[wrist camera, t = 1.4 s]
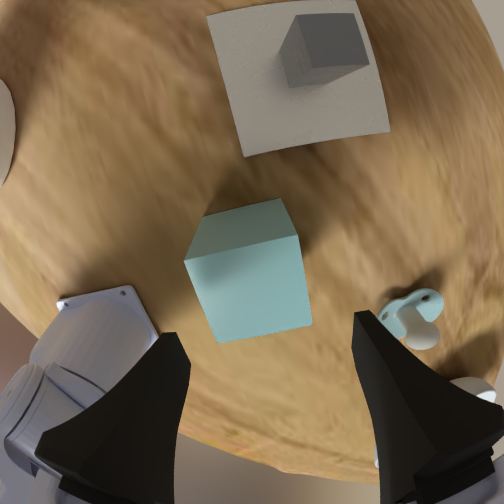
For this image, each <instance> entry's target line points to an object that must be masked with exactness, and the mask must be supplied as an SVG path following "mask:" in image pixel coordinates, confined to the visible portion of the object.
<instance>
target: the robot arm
mask: <svg viewBox="0 0 504 504" xmlns="http://www.w3.org/2000/svg"><path fill="white" fill-rule="evenodd" d="M122 291H124V292H125V293H126V294H125V293H123V292H122ZM67 303H68V304H67ZM56 305H57V307H58V309H59V310H60V312H59V314H58V315H57V316H56V317H55V319H54V320H53V321H52V323H51V324H50V325H49V327H48V328H47V329H46V331H45V332H44V333H43V335H42V336H41V338H40V339H39V341H38V342H37V343H36V345H35V346H34V348H33V350H32V352H31V355H30V361H29V364H25V365H24V366H22V367H21V368H20V369H19V370H18V372H17V373H16V374H15V375H14V377H13V378H12V379H11V380H10V382H9V383H8V385H7V386H6V388H5V389H4V391H3V392H2V394H1V396H0V504H174V458H175V447H176V438H177V432H178V427H179V423H180V418H181V414H182V410H183V406H184V403H185V399H186V394H187V390H188V386H189V379H190V370H191V363H190V361H189V359H188V356H187V354H186V352H185V350H184V348H183V346H182V344H181V342H180V340H179V338H178V335H177V333H176V332H167V333H162V334H161V335H160V337H159V335H158V333H157V332H156V330H155V328H154V326H153V324H152V323H151V321H150V319H149V317H148V315H147V313H146V311H145V309H144V307H143V305H142V303H141V301H140V299H139V298H138V295H137V293H136V291H135V289H134V288H133V287H132V286H130V285H125V286H121V287H116V288H111V289H107V290H102V291H97V292H93V293H88V294H84V295H79V296H74V297H70V298H65V299H60V300H58V301H57V303H56ZM351 348H352V353H353V358H354V362H355V367H356V371H357V374H358V377H359V380H360V383H361V386H362V389H363V392H364V395H365V398H366V401H367V405H368V408H369V411H370V414H371V418H372V423H373V428H374V434H375V440H376V447H377V455H378V464H379V476H380V504H504V454H503V455H502V456H500V457H498V458H497V459H496V460H494V461H493V462H492V459H491V456H492V455H493V454H494V451H493V449H492V446H493V445H494V444H495V443H496V442H497V441H498V440H499V439H501V438H502V436H504V410H503V408H502V406H500V405H498V404H495V403H492V402H490V401H487V400H484V399H482V398H480V397H477V396H475V395H473V394H471V393H469V392H467V391H465V390H463V389H461V388H460V387H458V386H456V385H455V384H453V383H451V382H450V381H448V380H446V379H445V378H443V377H442V376H440V375H439V374H437V373H436V372H435V371H433V370H432V369H431V368H429V367H428V366H427V365H425V364H424V363H423V362H422V361H420V360H419V359H418V358H417V357H416V356H415V355H414V354H412V353H411V352H410V351H409V350H408V349H407V348H406V347H405V346H404V345H403V344H402V343H401V342H400V341H399V340H398V339H396V338H395V337H394V336H393V335H392V334H391V333H390V331H389V330H388V329H387V328H386V327H385V326H384V325H383V324H382V323H381V322H380V321H379V320H378V319H377V318H376V317H375V315H374V314H373V313H372V312H371V311H370V310H366V311H360V312H354V324H353V336H352V347H351Z"/></svg>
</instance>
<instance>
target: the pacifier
mask: <svg viewBox="0 0 504 504" xmlns="http://www.w3.org/2000/svg"><path fill="white" fill-rule="evenodd" d="M426 295H429V298H428V299H427V300H422V297H423V296H426ZM443 307H444V300H443V298H442V296H441V295H440V294H439V293H438V292H437V291H435V290H433V289H430V288H422V289H418V290H416V291H413V292H412V293H410V294H409V295H408V296H405V297H402V298H397V299H393V300H391V301H389V302H388V303H386V304H385V305H384V306H383V307H382V309H381V310H380V312H379V313H378V315H377V317H376V318H377V319H378V320H379V321H380V322H381V323H382V324H383V325H384V326H385V327H386V328H387V329H388V330H389V331H390V333H391V334H392V335H393V336H394V337H395V338H396V339H400V338H402V337H405V336H406V337H405V341H406V344H407V345H408V346H409V347H411V348H413V349H416V350H425V349H429V348H431V347H433V346H434V345H436V344H437V343H438V341H439V339H440V333H439V330H438V328H437V327H436V326H435V325H434V324H433V323H431V322H432V321H433V320H435V319H436V318H437V317H438V315H439V314H440V313H441V311H442V309H443ZM383 315H384V317H383V318H382V316H383Z"/></svg>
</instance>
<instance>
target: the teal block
mask: <svg viewBox="0 0 504 504" xmlns="http://www.w3.org/2000/svg"><path fill="white" fill-rule="evenodd" d="M184 263H185V266H186V268H187V271H188V274H189V276H190V279H191V281H192V284H193V286H194V289H195V291H196V294H197V296H198V299H199V301H200V304H201V306H202V308H203V311H204V313H205V316H206V318H207V320H208V323H209V325H210V327H211V330H212V332H213V334H214V336H215V339H216V341H217V343H222V342H228V341H234V340H240V339H246V338H251V337H256V336H262V335H267V334H272V333H276V332H281V331H286V330H291V329H295V328H300V327H304V326H308V325H313V324H312V317H311V310H310V304H309V297H308V291H307V285H306V279H305V273H304V267H303V261H302V255H301V250H300V244H299V239H298V234H297V232H296V230H295V228H294V225H293V223H292V221H291V219H290V217H289V215H288V212H287V210H286V208H285V206H284V204H283V202H282V200H281V198H278V199H274V200H269V201H265V202H261V203H256V204H252V205H248V206H244V207H240V208H235V209H231V210H227V211H223V212H219V213H215V214H211V215H207V216H204V217H203V218H202V220H201V222H200V224H199V226H198V229H197V231H196V233H195V235H194V238H193V240H192V242H191V245H190V247H189V249H188V251H187V254H186V256H185V258H184Z"/></svg>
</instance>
